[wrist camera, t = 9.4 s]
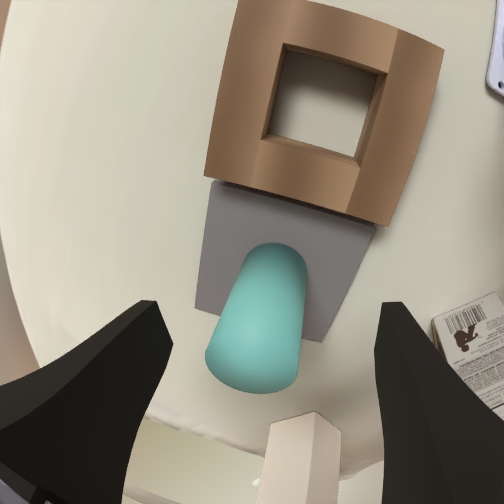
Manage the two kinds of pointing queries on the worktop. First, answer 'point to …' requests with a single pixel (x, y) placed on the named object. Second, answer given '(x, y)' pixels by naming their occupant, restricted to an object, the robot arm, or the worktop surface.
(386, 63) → the socket block
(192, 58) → the worktop surface
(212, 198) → the mat
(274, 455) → the milk
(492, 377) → the coffee box
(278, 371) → the plug
